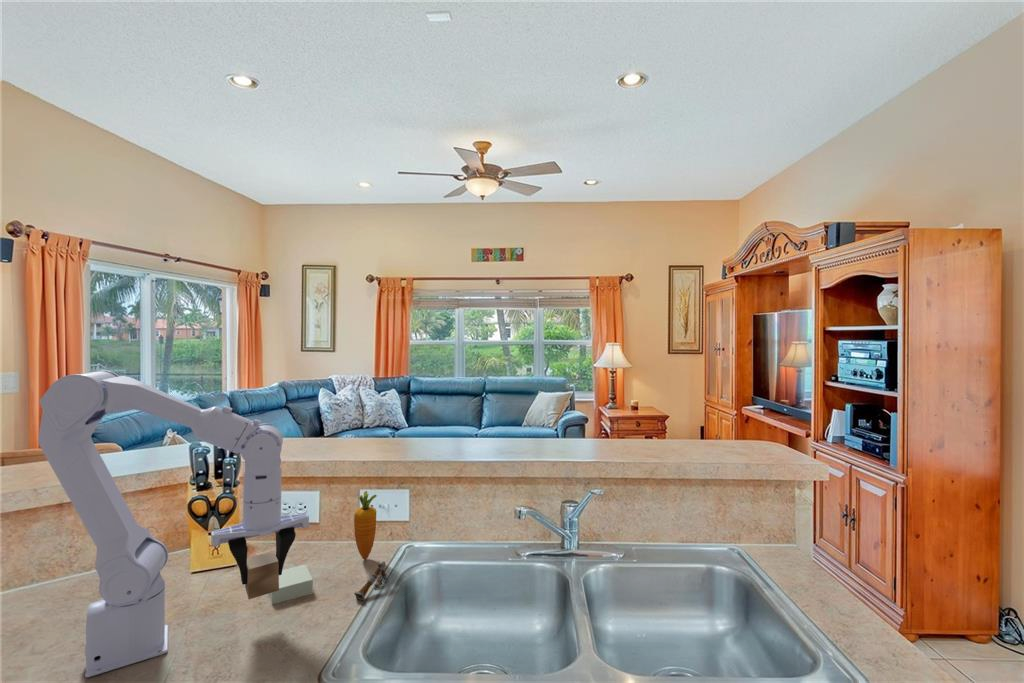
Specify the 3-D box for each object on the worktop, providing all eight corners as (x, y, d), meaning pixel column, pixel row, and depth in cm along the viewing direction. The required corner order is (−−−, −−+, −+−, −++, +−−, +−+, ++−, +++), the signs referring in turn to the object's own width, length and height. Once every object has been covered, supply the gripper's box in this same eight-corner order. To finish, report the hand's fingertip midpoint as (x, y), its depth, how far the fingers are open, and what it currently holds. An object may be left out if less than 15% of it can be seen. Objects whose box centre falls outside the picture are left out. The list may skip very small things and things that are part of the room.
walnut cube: (248, 599, 77) (247, 569, 77) (245, 587, 80) (244, 558, 80) (278, 590, 79) (278, 561, 79) (274, 578, 83) (273, 551, 83)
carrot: (359, 553, 106) (360, 487, 106) (380, 555, 106) (381, 488, 105) (349, 564, 101) (349, 494, 101) (370, 565, 101) (371, 496, 100)
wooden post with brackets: (392, 575, 95) (387, 559, 93) (368, 611, 88) (361, 594, 87) (385, 573, 96) (379, 557, 94) (360, 608, 89) (353, 591, 87)
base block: (271, 606, 86) (271, 590, 86) (267, 588, 92) (267, 573, 92) (312, 595, 90) (312, 579, 90) (305, 578, 96) (305, 564, 96)
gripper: (213, 514, 72) (212, 601, 72) (313, 496, 81) (312, 575, 81) (210, 500, 78) (209, 581, 78) (304, 485, 86) (303, 558, 87)
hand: (261, 577), depth 80 cm, fingers closed on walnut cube, 4 cm apart
